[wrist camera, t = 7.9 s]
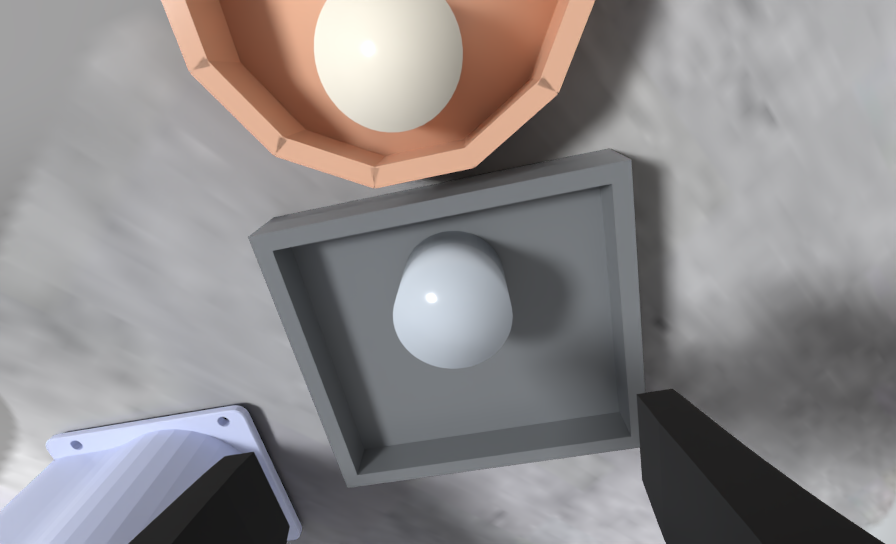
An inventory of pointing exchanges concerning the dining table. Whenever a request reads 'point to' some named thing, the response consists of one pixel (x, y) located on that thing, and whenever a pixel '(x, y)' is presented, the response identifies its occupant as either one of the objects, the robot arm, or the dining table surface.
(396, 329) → the slate pebble
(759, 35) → the dining table surface
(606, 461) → the dining table surface
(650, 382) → the dining table surface
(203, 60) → the terracotta bowl
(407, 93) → the cream pebble
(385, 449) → the parts tray
